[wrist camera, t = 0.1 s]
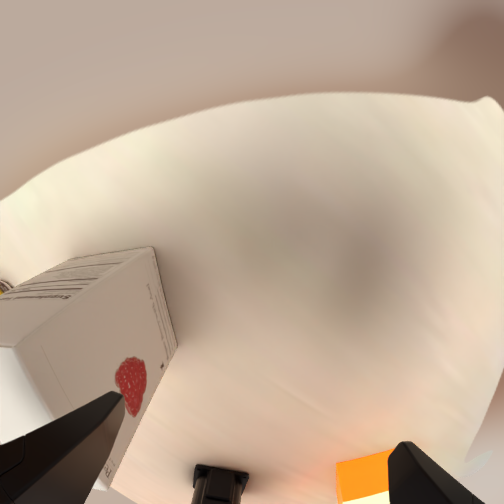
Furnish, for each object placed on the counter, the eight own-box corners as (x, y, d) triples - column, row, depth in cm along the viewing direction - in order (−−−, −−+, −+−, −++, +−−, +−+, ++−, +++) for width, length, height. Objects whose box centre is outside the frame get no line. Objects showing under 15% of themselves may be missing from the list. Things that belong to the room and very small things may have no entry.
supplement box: (181, 348, 24) (112, 498, 9) (96, 347, 24) (7, 454, 10) (156, 243, 21) (11, 347, 7) (67, 256, 22) (-66, 330, 8)
